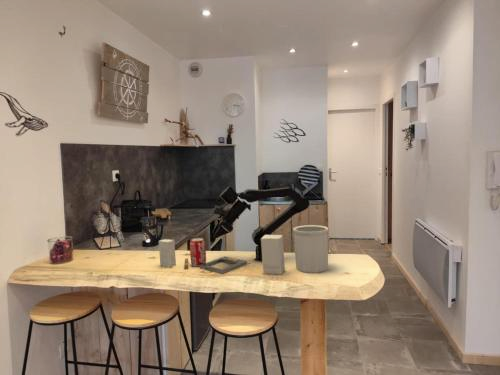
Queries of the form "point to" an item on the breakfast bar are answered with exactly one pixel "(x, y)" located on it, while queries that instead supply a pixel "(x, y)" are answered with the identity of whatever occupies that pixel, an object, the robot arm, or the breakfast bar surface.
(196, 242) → the soda can
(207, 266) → the plate
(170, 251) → the skincare box
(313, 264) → the utensil holder
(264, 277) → the breakfast bar surface
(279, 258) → the skincare box
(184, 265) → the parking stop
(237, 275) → the breakfast bar surface
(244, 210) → the robot arm
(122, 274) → the breakfast bar surface
